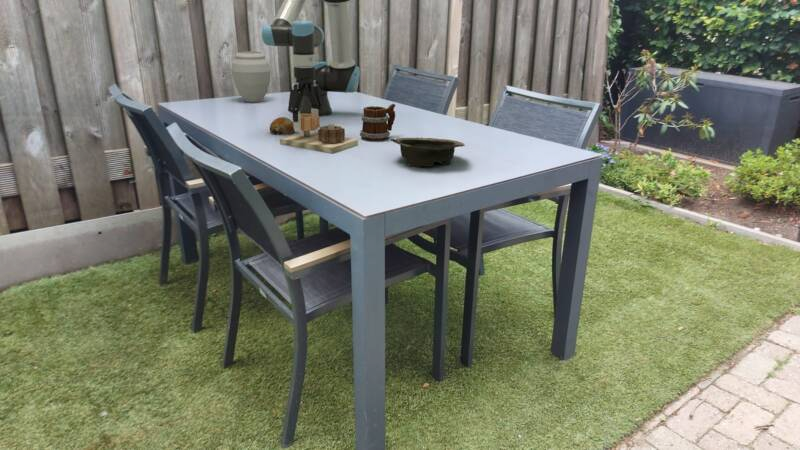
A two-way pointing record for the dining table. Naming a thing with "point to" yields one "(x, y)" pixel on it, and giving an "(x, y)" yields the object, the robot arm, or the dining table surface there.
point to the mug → (377, 123)
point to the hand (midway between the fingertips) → (306, 128)
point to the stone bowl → (427, 150)
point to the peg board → (316, 143)
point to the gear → (309, 122)
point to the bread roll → (282, 126)
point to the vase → (251, 75)
